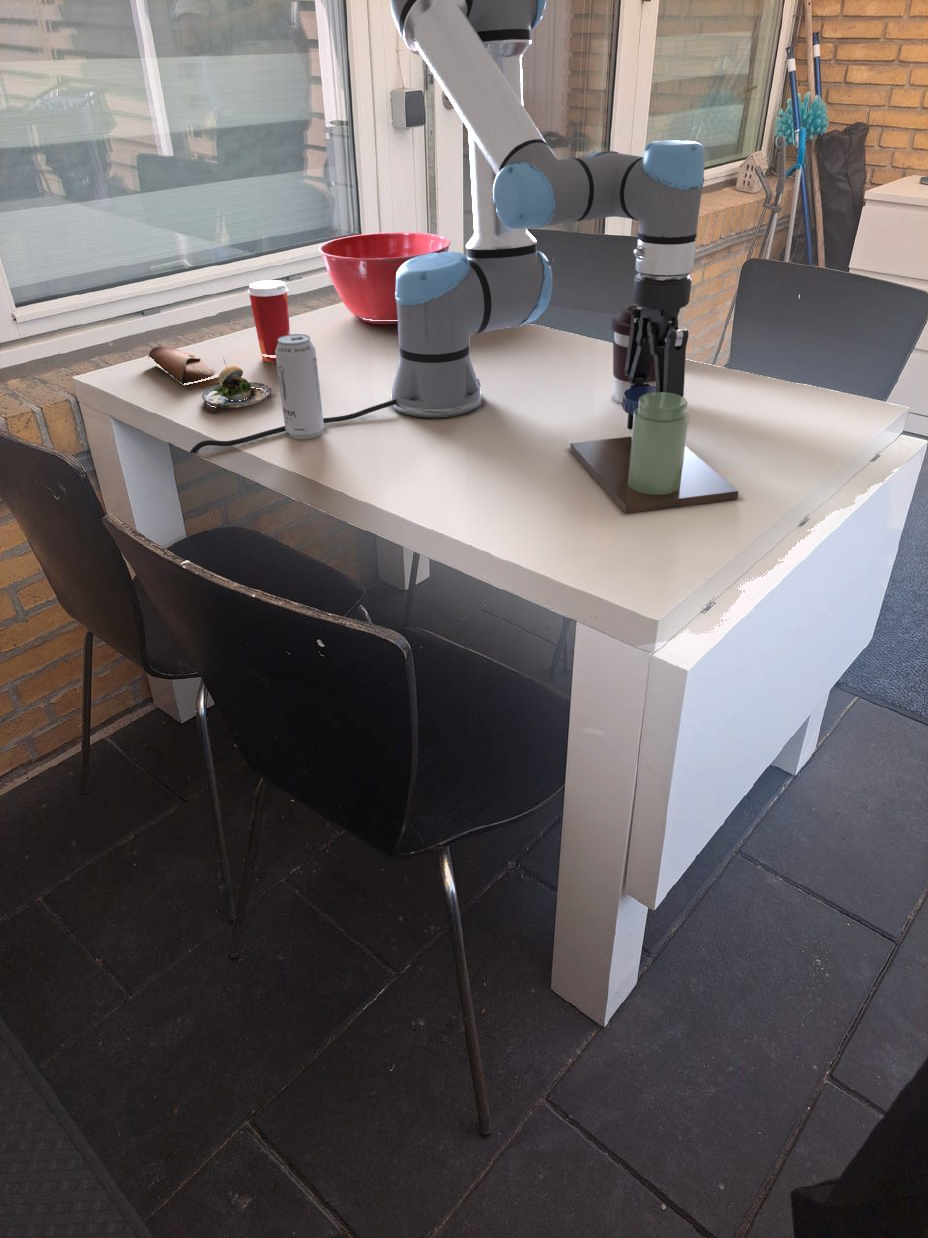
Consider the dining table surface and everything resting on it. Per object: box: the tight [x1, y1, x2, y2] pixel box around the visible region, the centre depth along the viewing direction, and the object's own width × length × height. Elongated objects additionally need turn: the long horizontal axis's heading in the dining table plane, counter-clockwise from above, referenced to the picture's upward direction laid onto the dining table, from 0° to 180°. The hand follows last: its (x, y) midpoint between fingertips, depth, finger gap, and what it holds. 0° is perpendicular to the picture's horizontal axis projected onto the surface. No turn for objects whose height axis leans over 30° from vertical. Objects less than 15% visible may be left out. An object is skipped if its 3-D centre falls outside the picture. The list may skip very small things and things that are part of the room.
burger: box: [201, 356, 273, 413], centre depth 153 cm, size 12×12×8 cm
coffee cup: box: [610, 304, 665, 404], centre depth 149 cm, size 10×10×15 cm
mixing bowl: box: [318, 231, 452, 325], centre depth 197 cm, size 28×28×15 cm
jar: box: [628, 392, 690, 495], centre depth 118 cm, size 7×7×12 cm
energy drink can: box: [275, 333, 325, 441], centre depth 138 cm, size 6×6×15 cm
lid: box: [621, 386, 656, 416], centre depth 128 cm, size 8×8×2 cm
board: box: [569, 436, 740, 514], centre depth 127 cm, size 16×22×1 cm
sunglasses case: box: [148, 346, 220, 390], centre depth 168 cm, size 18×7×7 cm
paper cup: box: [246, 279, 291, 363], centre depth 173 cm, size 8×8×14 cm
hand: (647, 437), depth 131 cm, fingers closed on lid, 7 cm apart
